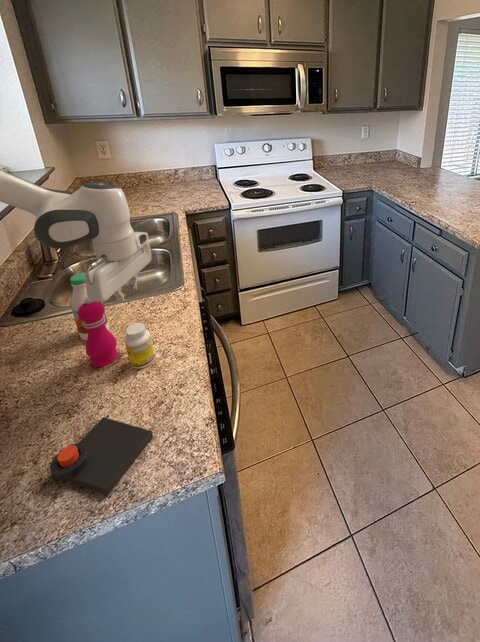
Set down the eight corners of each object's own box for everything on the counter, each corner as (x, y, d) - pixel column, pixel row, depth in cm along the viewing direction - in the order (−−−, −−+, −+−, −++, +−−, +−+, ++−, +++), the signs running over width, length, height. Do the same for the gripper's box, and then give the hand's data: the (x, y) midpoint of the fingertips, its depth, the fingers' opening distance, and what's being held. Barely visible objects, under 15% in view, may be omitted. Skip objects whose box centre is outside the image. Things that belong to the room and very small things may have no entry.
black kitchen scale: (47, 481, 69) (41, 469, 68) (103, 422, 81) (99, 411, 79) (103, 502, 65) (98, 489, 64) (153, 437, 77) (150, 425, 76)
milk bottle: (75, 335, 109) (58, 278, 102) (102, 321, 114) (87, 266, 108) (87, 345, 104) (69, 286, 98) (114, 330, 110) (99, 274, 103)
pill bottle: (131, 357, 100) (123, 324, 96) (155, 350, 102) (148, 318, 98) (129, 372, 94) (121, 338, 90) (155, 365, 97) (148, 332, 93)
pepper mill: (104, 348, 103) (87, 288, 96) (125, 351, 102) (110, 291, 95) (83, 366, 97) (63, 304, 90) (106, 370, 95) (88, 307, 88)
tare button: (55, 465, 69) (53, 458, 68) (70, 449, 72) (68, 443, 71) (68, 469, 68) (65, 463, 67) (83, 453, 71) (81, 447, 70)
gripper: (98, 269, 76) (112, 322, 81) (151, 230, 95) (160, 275, 100) (71, 267, 77) (86, 321, 81) (129, 230, 96) (139, 274, 101)
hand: (127, 295), depth 91 cm, fingers open, 3 cm apart
